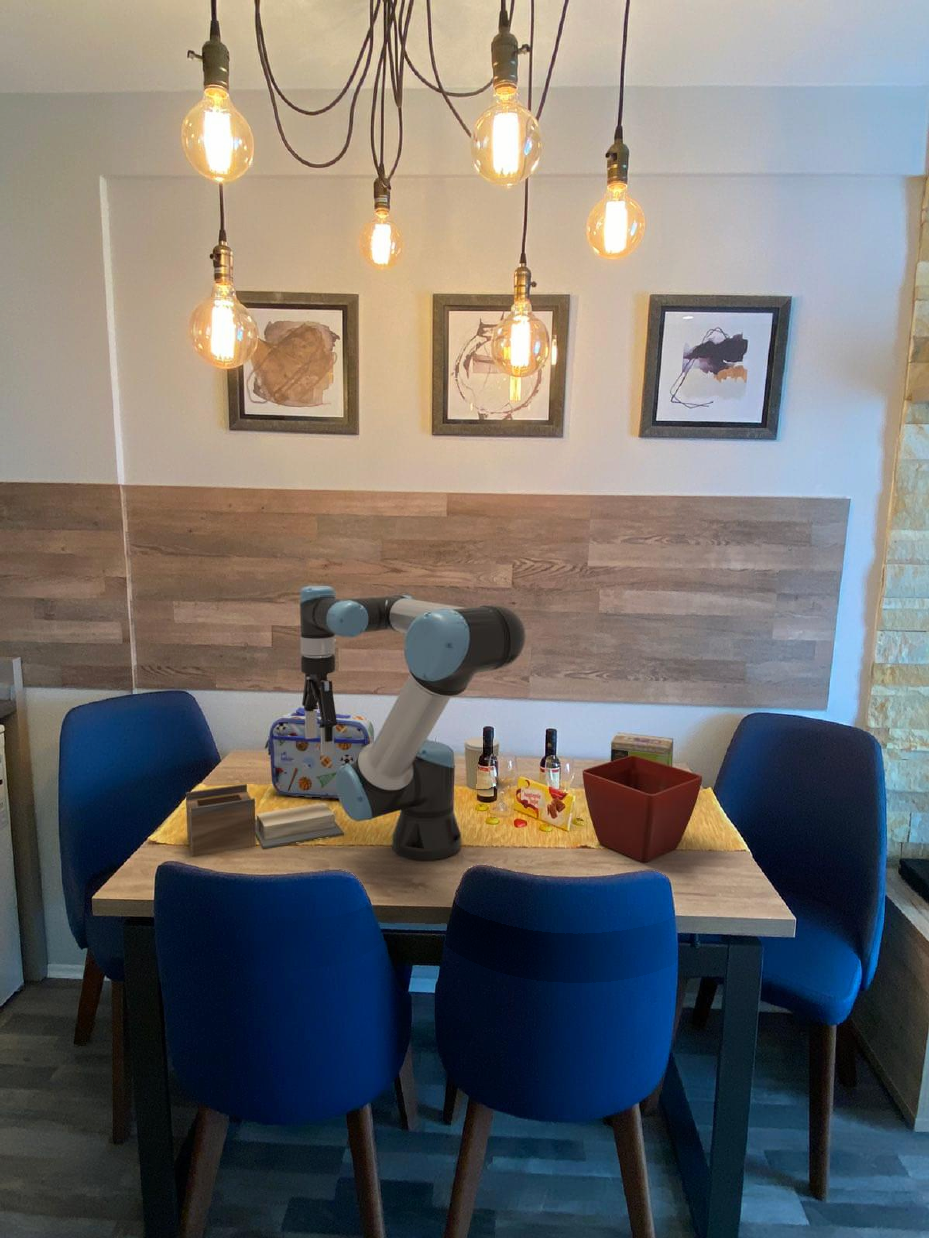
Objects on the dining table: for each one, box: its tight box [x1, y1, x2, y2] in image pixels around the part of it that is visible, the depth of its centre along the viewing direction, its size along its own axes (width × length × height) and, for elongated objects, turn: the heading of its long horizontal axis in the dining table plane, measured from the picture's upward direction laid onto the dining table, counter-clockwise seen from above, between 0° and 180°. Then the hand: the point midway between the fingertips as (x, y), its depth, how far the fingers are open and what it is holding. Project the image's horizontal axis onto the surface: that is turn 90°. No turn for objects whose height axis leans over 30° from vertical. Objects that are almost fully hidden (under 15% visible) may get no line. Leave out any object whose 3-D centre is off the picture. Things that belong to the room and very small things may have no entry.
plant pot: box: [582, 755, 703, 863], centre depth 167 cm, size 19×19×17 cm
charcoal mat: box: [255, 818, 345, 850], centre depth 173 cm, size 15×18×1 cm
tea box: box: [610, 732, 674, 767], centre depth 198 cm, size 15×10×15 cm
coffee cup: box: [463, 736, 500, 790], centre depth 202 cm, size 9×9×12 cm
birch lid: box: [256, 802, 336, 840], centre depth 173 cm, size 8×16×3 cm, turn 118°
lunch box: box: [264, 707, 375, 799], centre depth 193 cm, size 28×10×22 cm, turn 84°
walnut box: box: [185, 783, 257, 857], centre depth 165 cm, size 10×13×10 cm
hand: (319, 746), depth 173 cm, fingers open, 13 cm apart
